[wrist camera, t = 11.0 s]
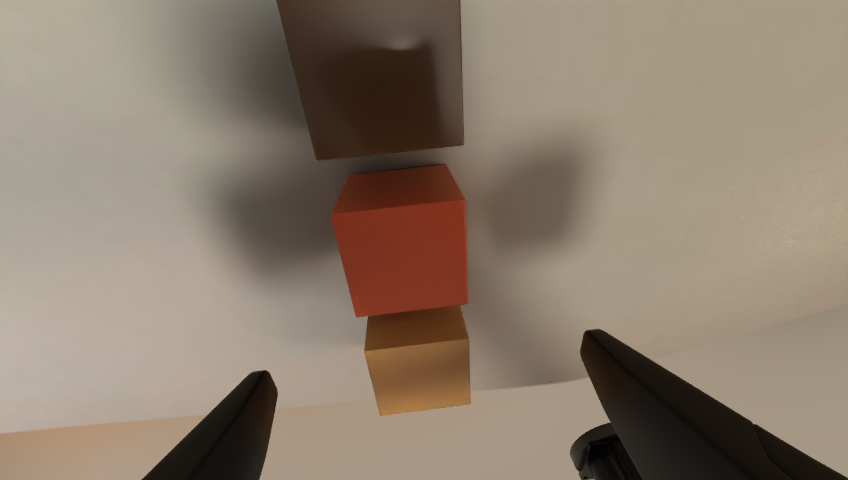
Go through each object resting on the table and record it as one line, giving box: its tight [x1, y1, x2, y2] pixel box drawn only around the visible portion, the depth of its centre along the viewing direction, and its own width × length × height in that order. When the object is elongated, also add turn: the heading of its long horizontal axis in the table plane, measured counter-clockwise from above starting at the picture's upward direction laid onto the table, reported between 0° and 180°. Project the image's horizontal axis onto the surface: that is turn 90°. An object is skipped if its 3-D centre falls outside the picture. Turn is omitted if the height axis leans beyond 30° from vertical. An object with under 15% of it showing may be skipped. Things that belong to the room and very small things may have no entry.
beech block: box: [364, 305, 471, 416], centre depth 18 cm, size 5×5×5 cm
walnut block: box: [276, 0, 464, 161], centre depth 12 cm, size 5×5×5 cm
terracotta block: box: [331, 164, 468, 317], centre depth 15 cm, size 5×5×5 cm
